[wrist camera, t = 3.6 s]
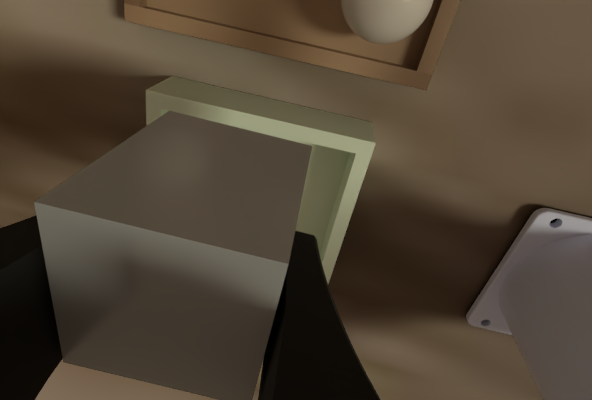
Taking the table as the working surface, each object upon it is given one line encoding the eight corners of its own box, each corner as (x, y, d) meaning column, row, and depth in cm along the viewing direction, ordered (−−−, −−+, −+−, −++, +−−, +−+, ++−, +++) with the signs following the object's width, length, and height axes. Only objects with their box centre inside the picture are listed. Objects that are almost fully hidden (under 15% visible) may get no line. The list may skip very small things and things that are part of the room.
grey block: (312, 145, 10) (288, 264, 6) (283, 256, 12) (250, 406, 8) (169, 110, 10) (33, 201, 6) (165, 228, 12) (63, 362, 8)
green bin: (371, 121, 16) (375, 143, 14) (323, 271, 21) (321, 304, 18) (172, 75, 16) (145, 89, 14) (169, 236, 21) (149, 264, 18)
